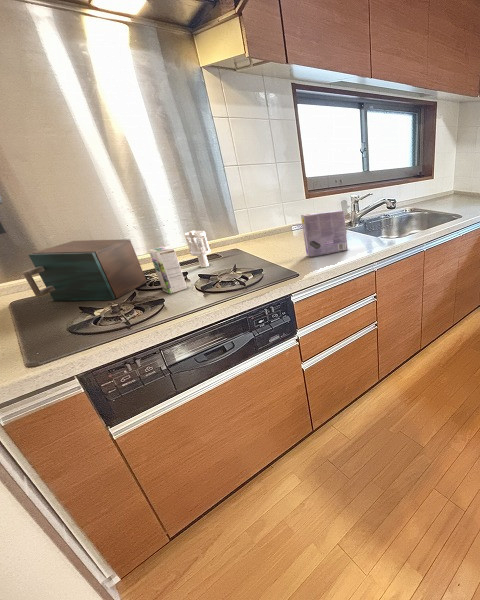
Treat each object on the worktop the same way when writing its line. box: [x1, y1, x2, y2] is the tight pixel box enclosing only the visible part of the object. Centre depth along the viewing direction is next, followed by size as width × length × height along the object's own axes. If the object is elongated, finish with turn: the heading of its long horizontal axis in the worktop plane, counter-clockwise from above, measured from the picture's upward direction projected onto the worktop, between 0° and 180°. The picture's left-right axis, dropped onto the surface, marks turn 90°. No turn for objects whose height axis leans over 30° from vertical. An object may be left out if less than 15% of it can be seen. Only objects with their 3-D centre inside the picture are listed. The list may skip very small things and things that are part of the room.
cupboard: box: [31, 238, 148, 299], centre depth 109 cm, size 14×20×16 cm
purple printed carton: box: [300, 210, 349, 258], centre depth 141 cm, size 19×5×18 cm, turn 123°
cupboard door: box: [21, 252, 116, 302], centre depth 100 cm, size 6×20×16 cm, turn 89°
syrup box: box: [148, 245, 188, 295], centre depth 108 cm, size 6×6×14 cm
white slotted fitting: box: [183, 230, 211, 268], centre depth 129 cm, size 7×7×15 cm
